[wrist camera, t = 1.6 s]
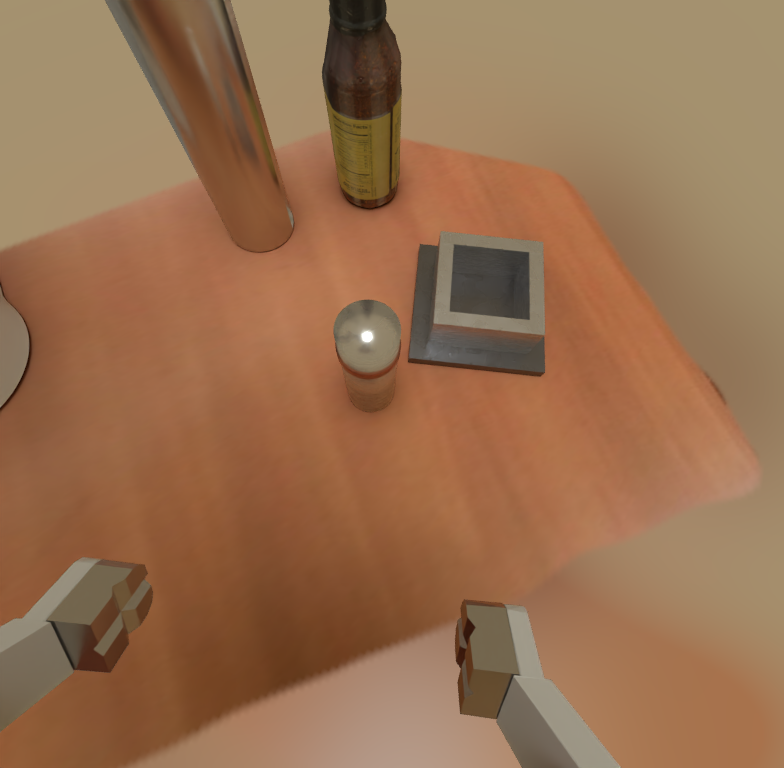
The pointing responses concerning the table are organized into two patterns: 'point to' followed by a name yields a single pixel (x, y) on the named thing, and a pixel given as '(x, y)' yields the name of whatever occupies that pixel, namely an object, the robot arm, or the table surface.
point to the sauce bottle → (363, 100)
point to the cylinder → (368, 352)
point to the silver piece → (212, 110)
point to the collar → (480, 304)
